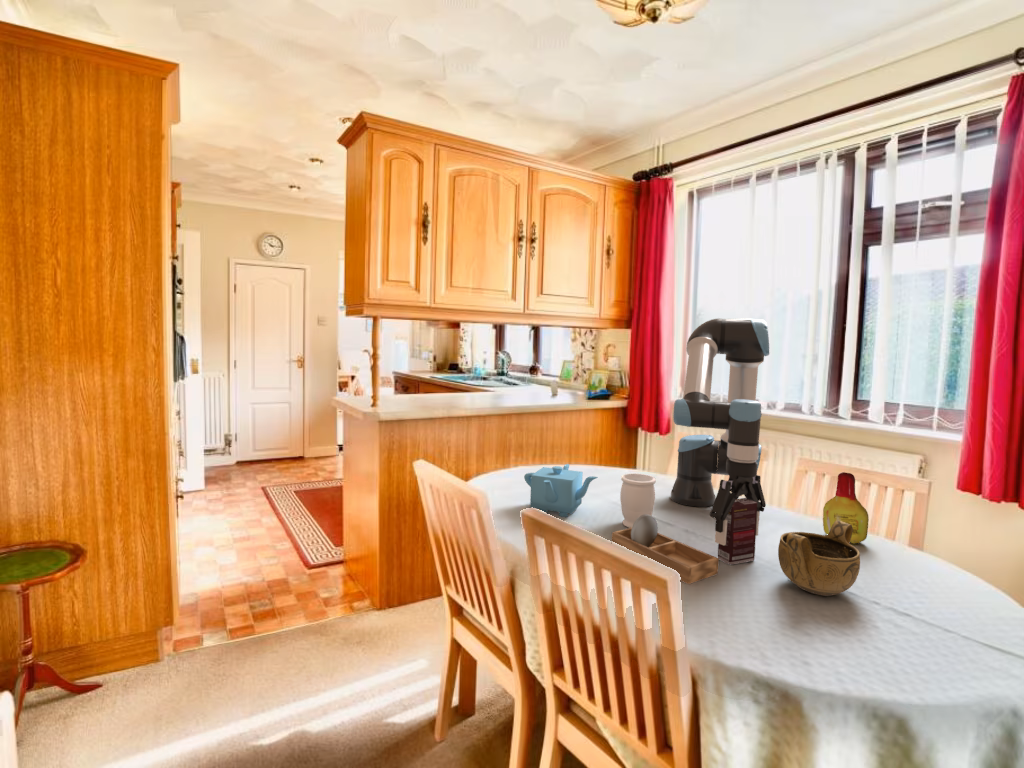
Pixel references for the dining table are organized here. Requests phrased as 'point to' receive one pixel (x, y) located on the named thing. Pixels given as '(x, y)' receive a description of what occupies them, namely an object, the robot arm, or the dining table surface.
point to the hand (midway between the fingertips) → (736, 538)
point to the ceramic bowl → (820, 560)
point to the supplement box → (740, 533)
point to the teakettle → (557, 489)
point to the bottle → (846, 509)
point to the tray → (666, 550)
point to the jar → (636, 497)
